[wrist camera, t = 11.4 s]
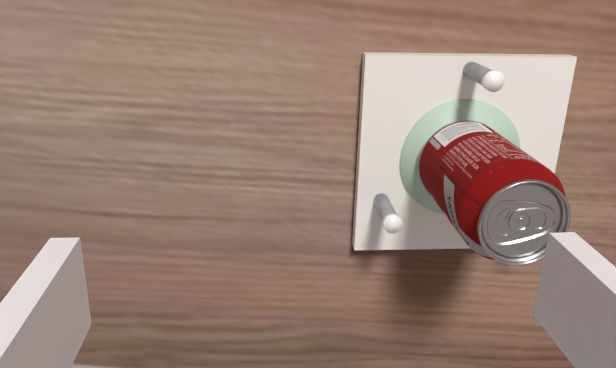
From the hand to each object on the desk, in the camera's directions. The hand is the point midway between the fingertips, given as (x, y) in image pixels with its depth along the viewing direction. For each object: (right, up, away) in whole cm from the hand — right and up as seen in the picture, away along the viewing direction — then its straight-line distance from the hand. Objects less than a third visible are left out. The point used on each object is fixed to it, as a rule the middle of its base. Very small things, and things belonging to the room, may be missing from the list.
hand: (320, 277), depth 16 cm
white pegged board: (+12, +5, +30) cm, 32 cm away
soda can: (+11, +5, +28) cm, 31 cm away
